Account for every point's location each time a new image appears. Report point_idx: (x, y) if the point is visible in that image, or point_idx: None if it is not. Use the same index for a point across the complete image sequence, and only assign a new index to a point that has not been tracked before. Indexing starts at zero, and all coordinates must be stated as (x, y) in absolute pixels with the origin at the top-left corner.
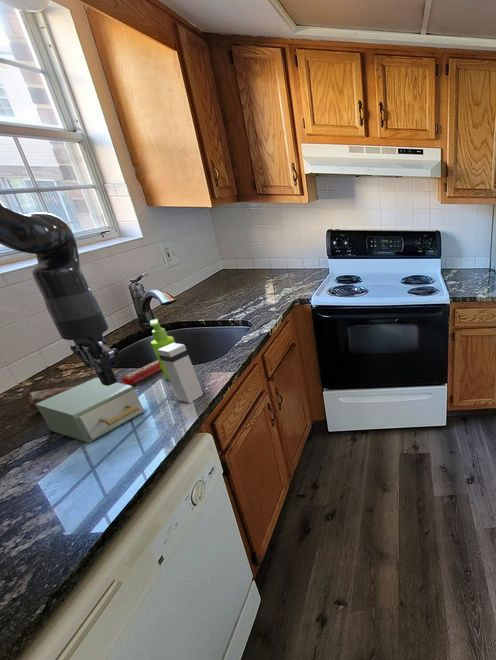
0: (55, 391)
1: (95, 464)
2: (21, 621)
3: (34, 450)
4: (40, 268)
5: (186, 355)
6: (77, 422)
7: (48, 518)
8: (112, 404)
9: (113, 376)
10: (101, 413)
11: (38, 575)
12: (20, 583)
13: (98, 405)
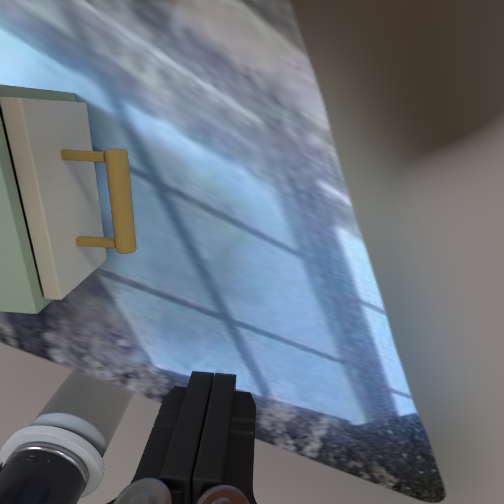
0: None
1: (215, 309)
2: (437, 498)
3: None
4: None
5: None
6: None
7: (288, 412)
8: (48, 199)
9: (253, 433)
10: (64, 238)
11: (392, 466)
12: (378, 475)
13: (27, 237)
